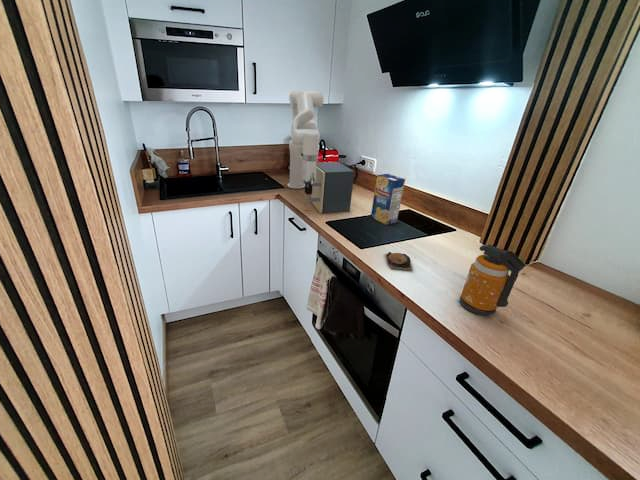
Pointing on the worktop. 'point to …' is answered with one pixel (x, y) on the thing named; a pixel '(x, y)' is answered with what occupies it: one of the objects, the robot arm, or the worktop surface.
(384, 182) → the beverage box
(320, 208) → the cupboard door
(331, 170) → the cupboard
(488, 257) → the canister
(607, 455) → the worktop surface
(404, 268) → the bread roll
